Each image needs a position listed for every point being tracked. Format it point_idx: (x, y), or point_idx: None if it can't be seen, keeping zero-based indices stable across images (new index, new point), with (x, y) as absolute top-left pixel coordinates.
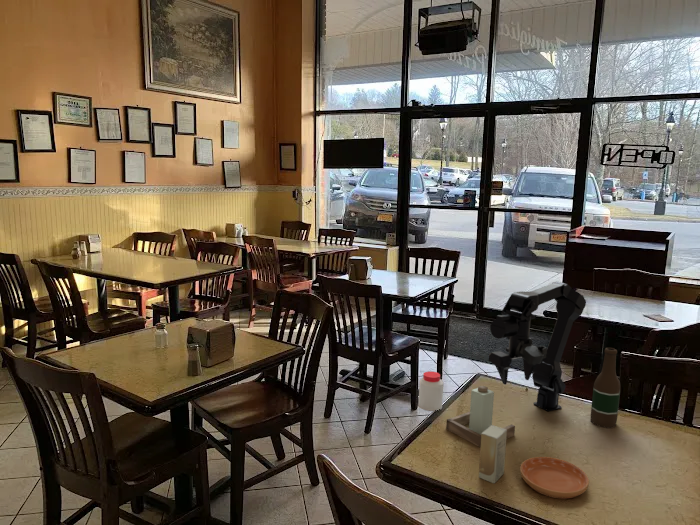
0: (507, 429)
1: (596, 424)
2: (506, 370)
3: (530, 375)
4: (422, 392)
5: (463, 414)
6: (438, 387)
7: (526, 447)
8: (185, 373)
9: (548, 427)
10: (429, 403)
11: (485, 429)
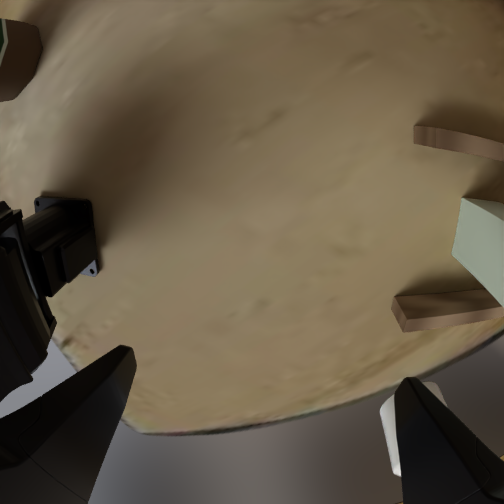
0: (476, 136)
1: (41, 46)
2: (502, 480)
3: (87, 368)
4: None
5: (474, 319)
6: None
7: (442, 47)
8: None
9: (204, 85)
10: (444, 401)
11: (499, 208)
